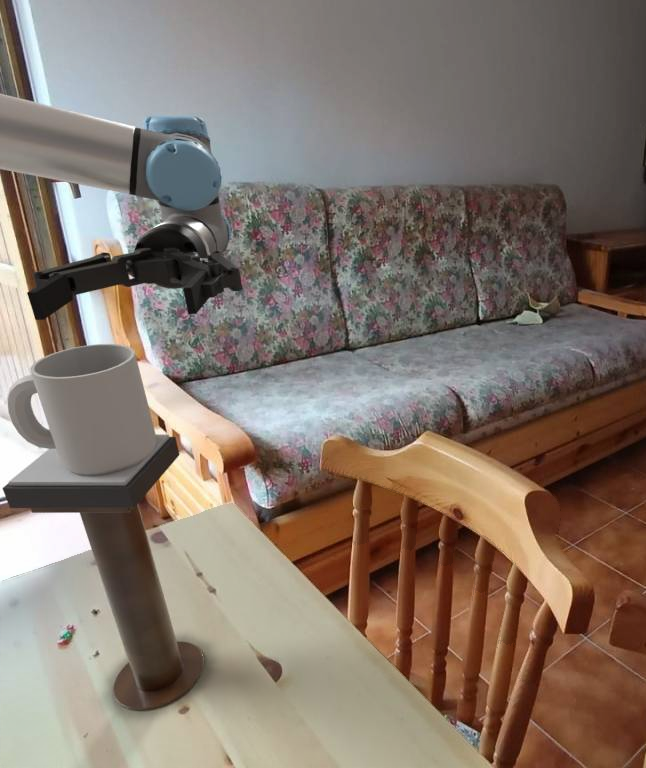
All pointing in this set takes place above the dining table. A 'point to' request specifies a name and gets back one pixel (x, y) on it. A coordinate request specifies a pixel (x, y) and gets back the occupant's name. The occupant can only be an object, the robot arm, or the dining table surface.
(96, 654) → the dining table surface
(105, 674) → the dining table surface
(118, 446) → the cup
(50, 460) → the scale
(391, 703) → the dining table surface
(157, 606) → the stand
